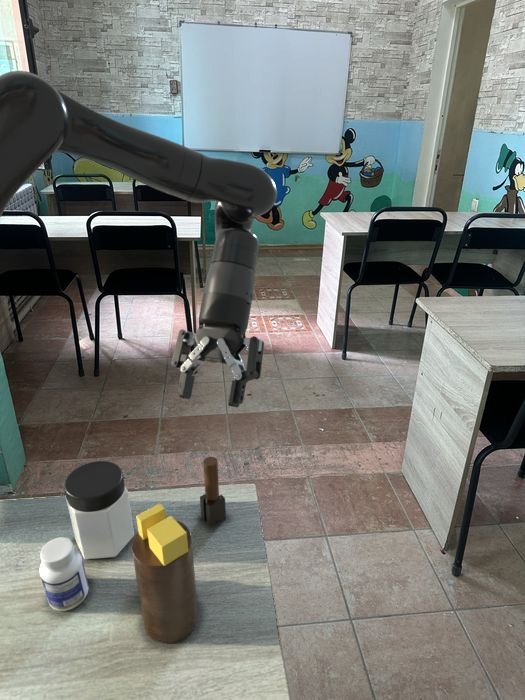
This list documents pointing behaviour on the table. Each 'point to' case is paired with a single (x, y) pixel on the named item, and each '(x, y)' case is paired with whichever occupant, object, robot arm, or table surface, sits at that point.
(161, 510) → the block
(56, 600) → the pill bottle
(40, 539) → the table surface
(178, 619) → the butter stand
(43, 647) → the table surface
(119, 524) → the jar
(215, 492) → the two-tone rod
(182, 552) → the butter block
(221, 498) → the knife stand
